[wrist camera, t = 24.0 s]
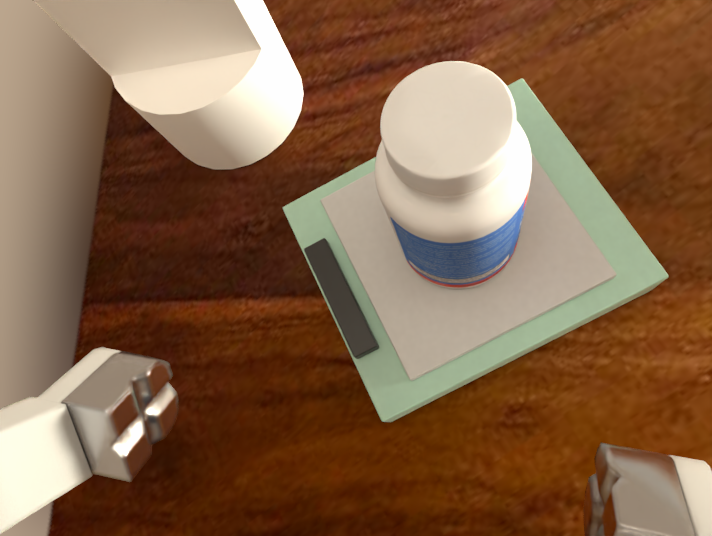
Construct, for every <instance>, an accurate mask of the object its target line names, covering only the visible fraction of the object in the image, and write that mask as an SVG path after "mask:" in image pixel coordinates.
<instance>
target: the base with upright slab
mask: <svg viewBox="0 0 712 536" xmlns="http://www.w3.org/2000/svg"><path fill="white" fill-rule="evenodd" d="M33 1H34V2H35V3H36V4H37V5H38V6H39V7H40V8H41V9H42V10H43V11H44V12H45V13H46V14H47V15H48V16H50V17H51V18H52V19H53V20H54V21H55V22H56V23H57V24H58V25H59V26H60V27H61V28H62V29H63V30H64V31H65V32H66V33H67V34H68V35H69V36H70V37H71V38H72V39H73V40H74V41H75V42H76V43H77V44H79V46H80V47H81V48H82V49H84V51H86V52H87V53H88V54H89V55H90V56H91V57H92V58H93V59H94V60H95V61H96V62H97V63H98V64H99V65H100V66H101V67H102V68H103V69H104V70H105V71H106V72H107V73H108V74H109V75H110V76H111V77H112V80H113V83H114V86H115V88H116V90H117V91H118V92H119V93H120V95H121V96H122V97H123V98H124V100H125V101H126V102H127V103H128V104H129V105H130V106H132V107H133V108H134V109H135V110H136V111H137V112H138V113H139V114H140V115H141V116H142V117H143V118H144V119H145V120H146V121H148V122H149V123H150V124H151V125H152V126H153V127H154V128H155V129H156V130H157V131H158V132H159V133H160V134H161V135H162V136H164V137H165V138H166V139H167V140H168V141H169V142H170V143H171V144H172V145H173V146H174V147H175V148H176V149H177V150H178V151H179V152H181V153H182V154H183V155H184V156H185V157H186V158H188V159H189V160H191V161H193V162H194V163H196V164H197V165H200V166H203V167H207V168H211V169H235V168H239V167H243V166H247V165H250V164H252V163H254V162H256V161H258V160H260V159H262V158H264V157H266V156H267V155H269V154H270V153H271V152H272V151H273V150H275V149H276V148H277V147H278V146H279V145H280V144H282V143H283V141H284V140H285V139H286V137H287V136H288V135H289V133H290V132H291V131H292V129H293V128H294V126H295V124H296V122H297V119H298V117H299V114H300V112H301V108H302V101H303V94H304V93H303V87H302V81H301V77H300V75H299V73H298V71H297V69H296V67H295V65H294V62H293V60H292V58H291V56H290V54H289V52H288V50H287V48H286V46H285V44H284V42H283V40H282V38H281V36H280V34H279V32H278V30H277V28H276V26H275V24H274V22H273V20H272V18H271V16H270V14H269V12H268V10H267V8H266V6H265V4H264V2H263V0H33Z"/></svg>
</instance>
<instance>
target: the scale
mask: <svg viewBox="0 0 712 536" xmlns="http://www.w3.org/2000/svg"><path fill="white" fill-rule="evenodd" d="M507 87H508V89H509V90H510V93H511V95H512V97H513V100H514V103H515V107H516V120H517V122H518V123H519V124H520V126H521V127H522V129H523V131H524V132H525V134H526V136H527V139H528V141H529V145H530V148H531V154H532V173H531V182H530V187H529V192H528V197H527V201H526V206H525V211H524V216H523V219H522V224H521V228H520V234H519V239H518V243H517V246H516V249H515V251H514V254H513V256H512V258H511V259H510V261H509V263H508V264H507V265H506V267H505V268H504V269H503V270H502V271H501V272H500V273H499V274H498V275H497V276H495V277H494V278H492V279H491V280H489V281H487V282H485V283H483V284H481V285H478V286H475V287H470V288H463V289H452V288H445V287H440V286H437V285H434V284H432V283H430V282H428V281H426V280H425V279H423V278H422V277H420V276H419V275H418V274H417V273H416V272H415V271H414V270H413V269H412V268H411V267H410V265H409V264H408V262H407V261H406V259H405V257H404V255H403V253H402V251H401V248H400V245H399V243H398V240H397V238H396V235H395V233H394V230H393V228H392V225H391V223H390V221H389V218H388V216H387V213H386V211H385V209H384V206H383V204H382V202H381V199H380V197H379V194H378V191H377V187H376V182H375V161H376V157H375V158H373V159H371V160H369V161H367V162H366V163H364V164H362V165H360V166H358V167H356V168H354V169H353V170H351V171H349V172H347V173H345V174H343V175H342V176H340V177H338V178H336V179H334V180H332V181H330V182H329V183H327V184H325V185H323V186H321V187H319V188H317V189H316V190H314V191H312V192H310V193H308V194H306V195H304V196H303V197H301V198H299V199H297V200H295V201H293V202H291V203H290V204H288V205H286V206H284V207H283V211H284V213H285V215H286V217H287V219H288V221H289V224H290V226H291V228H292V230H293V232H294V234H295V237H296V239H297V241H298V243H299V245H300V247H301V249H302V252H303V254H304V256H305V258H306V260H307V262H308V264H309V267H310V269H311V271H312V273H313V275H314V277H315V279H316V282H317V284H318V286H319V288H320V290H321V292H322V295H323V297H324V299H325V301H326V303H327V305H328V307H329V310H330V312H331V314H332V316H333V318H334V320H335V322H336V325H337V327H338V329H339V331H340V333H341V335H342V338H343V340H344V342H345V344H346V346H347V348H348V350H349V353H350V355H351V357H352V359H353V361H354V363H355V365H356V368H357V370H358V372H359V374H360V376H361V378H362V380H363V383H364V385H365V387H366V389H367V391H368V393H369V396H370V398H371V400H372V402H373V404H374V406H375V408H376V411H377V413H378V415H379V417H380V419H381V421H382V422H392V421H394V420H396V419H398V418H400V417H402V416H404V415H406V414H408V413H410V412H412V411H414V410H416V409H418V408H420V407H422V406H424V405H426V404H428V403H430V402H432V401H434V400H436V399H438V398H440V397H442V396H444V395H446V394H448V393H450V392H452V391H454V390H456V389H458V388H460V387H462V386H464V385H466V384H467V383H469V382H471V381H473V380H475V379H477V378H479V377H481V376H483V375H485V374H487V373H489V372H491V371H493V370H495V369H497V368H499V367H501V366H503V365H505V364H507V363H509V362H511V361H513V360H515V359H517V358H519V357H521V356H523V355H525V354H527V353H529V352H531V351H533V350H535V349H537V348H539V347H541V346H542V345H544V344H546V343H548V342H550V341H552V340H554V339H556V338H558V337H560V336H562V335H564V334H566V333H568V332H570V331H572V330H574V329H576V328H578V327H580V326H582V325H584V324H586V323H588V322H590V321H592V320H594V319H596V318H598V317H600V316H602V315H604V314H606V313H608V312H610V311H612V310H614V309H616V308H618V307H619V306H621V305H623V304H625V303H627V302H629V301H631V300H633V299H635V298H637V297H639V296H641V295H643V294H645V293H647V292H649V291H651V290H652V289H654V288H655V287H656V286H658V285H659V284H660V283H662V282H663V281H664V280H666V279H667V278H668V277H669V276H668V274H667V273H666V271H665V270H664V269H663V267H662V266H661V265H660V263H659V262H658V261H657V259H656V258H655V256H654V255H653V254H652V252H651V251H650V250H649V248H648V247H647V246H646V244H645V243H644V242H643V240H642V239H641V238H640V236H639V235H638V233H637V232H636V231H635V229H634V228H633V227H632V225H631V224H630V223H629V221H628V220H627V219H626V217H625V216H624V215H623V213H622V212H621V211H620V209H619V208H618V206H617V205H616V204H615V202H614V201H613V200H612V198H611V197H610V196H609V194H608V193H607V192H606V190H605V189H604V188H603V186H602V185H601V184H600V182H599V181H598V179H597V178H596V177H595V175H594V174H593V173H592V171H591V170H590V169H589V167H588V166H587V165H586V163H585V162H584V161H583V159H582V158H581V157H580V155H579V154H578V152H577V151H576V150H575V148H574V147H573V146H572V144H571V143H570V142H569V140H568V139H567V138H566V136H565V135H564V134H563V132H562V131H561V130H560V128H559V127H558V125H557V124H556V123H555V121H554V120H553V119H552V117H551V116H550V115H549V113H548V112H547V111H546V109H545V108H544V107H543V105H542V104H541V103H540V101H539V100H538V98H537V97H536V96H535V94H534V93H533V92H532V90H531V89H530V88H529V86H528V85H527V84H526V82H525V81H524V80H523V79H519V80H518V81H516V82H514V83H512V84H510V85H508V86H507Z"/></svg>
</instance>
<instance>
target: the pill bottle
mask: <svg viewBox="0 0 712 536" xmlns="http://www.w3.org/2000/svg"><path fill="white" fill-rule="evenodd" d="M380 129H381V137H382V141H381V143H380V146H379V148H378V151H377V156H376V161H375V182H376V187H377V191H378V194H379V197H380V199H381V202H382V204H383V206H384V209H385V211H386V213H387V216H388V218H389V221H390V223H391V225H392V228H393V230H394V233H395V235H396V238H397V240H398V243H399V245H400V248H401V251H402V253H403V255H404V257H405V259H406V261H407V262H408V264H409V265H410V267H411V268H412V269H413V270H414V271H415V272H416V273H417V274H418V275H419V276H420V277H422V278H423V279H425V280H426V281H428V282H430V283H432V284H434V285H437V286H440V287H445V288H452V289H463V288H470V287H475V286H478V285H481V284H483V283H485V282H487V281H489V280H491V279H492V278H494V277H495V276H497V275H498V274H499V273H500V272H501V271H502V270H503V269H504V268H505V267H506V265H507V264H508V263H509V261H510V259H511V258H512V256H513V254H514V251H515V249H516V246H517V243H518V239H519V234H520V228H521V224H522V219H523V216H524V211H525V206H526V201H527V197H528V192H529V187H530V182H531V173H532V154H531V148H530V145H529V141H528V139H527V136H526V134H525V132H524V131H523V129H522V127H521V126H520V124H519V123H518V122H517V120H516V107H515V103H514V100H513V97H512V95H511V93H510V90H509V89H508V87H507V85H506V84H505V83H504V82H503V81H502V80H501V79H500V78H499V77H498V76H497V75H495V74H494V73H493V72H491V71H490V70H488V69H486V68H484V67H482V66H479V65H476V64H472V63H468V62H462V61H448V62H440V63H435V64H431V65H428V66H426V67H423V68H421V69H419V70H417V71H415V72H414V73H412V74H410V75H409V76H407V77H406V78H405V79H403V80H402V81H401V82H400V83H399V84H398V85H397V86H396V87H395V88H394V90H393V91H392V92H391V94H390V95H389V97H388V99H387V101H386V103H385V105H384V108H383V111H382V115H381V124H380Z"/></svg>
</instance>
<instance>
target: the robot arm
mask: <svg viewBox="0 0 712 536" xmlns="http://www.w3.org/2000/svg"><path fill="white" fill-rule="evenodd" d="M172 376H173V374H172V371H171V367H170V364H169V363H168V362H166V361H164V360H161V359H157V358H152V357H148V356H143V355H138V354H134V353H129V352H125V351H118V350H113V349H109V348H104V347H100V348H97V349H93V350H92V351H91V352H90V353H89V354H87V355H86V356H85V357H84V358H83V359H82V360H81V361H79V362H78V363H77V364H76V365H75V366H74V367H72V368H71V369H70V370H69V371H68V372H67V373H66V374H64V375H63V376H62V377H61V378H60V379H58V380H57V381H56V382H55V383H54V384H53V385H51V386H50V387H49V388H48V389H47V390H46V391H44V392H43V393H42V394H41V395H40V396H39V397H37V398H35V397H28V398H26V399H23V400H21V401H18V402H16V403H13V404H11V405H8V406H5V407H3V408H0V534H1V533H3V532H4V531H6V530H7V529H9V528H11V527H12V526H13V525H15V524H17V523H18V522H20V521H22V520H23V519H25V518H27V517H28V516H30V515H31V514H33V513H34V512H36V511H38V510H39V509H41V508H42V507H44V506H46V505H47V504H49V503H50V502H52V501H54V500H55V499H57V498H58V497H60V496H61V495H63V494H65V493H66V492H68V491H69V490H71V489H73V488H74V487H76V486H77V485H79V484H80V483H82V482H84V481H85V480H87V479H88V478H90V477H92V473H93V474H97V475H102V476H106V477H110V478H115V479H119V480H124V481H128V482H131V481H132V479H133V478H134V477H135V476H136V474H137V473H138V472H139V470H140V469H141V468H142V467H143V465H144V464H145V463H146V462H147V460H148V459H149V458H150V456H151V445H152V444H154V443H156V442H158V441H160V440H162V439H164V438H165V437H166V436H167V434H168V433H169V432H170V430H171V429H172V428H173V426H174V423H175V421H176V418H177V415H178V410H179V400H178V395H177V392H176V391H175V390H174V389H173V388H172V386H171V385H170V384H169V383H168V382H169V381H170V379H171V378H172ZM595 467H596V474H594V475H592V476H591V477H589V479H588V483H587V487H586V491H585V499H584V531H585V536H712V471H711V468H710V466H709V465H708V464H707V463H706V462H705V461H701V460H696V459H690V458H684V457H679V456H673V455H666V454H661V453H656V452H650V451H645V450H639V449H633V448H628V447H622V446H617V445H611V444H606V443H601V444H600V446H599V447H598V449H597V452H596V456H595Z"/></svg>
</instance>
